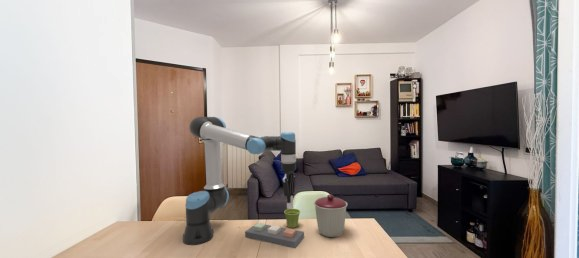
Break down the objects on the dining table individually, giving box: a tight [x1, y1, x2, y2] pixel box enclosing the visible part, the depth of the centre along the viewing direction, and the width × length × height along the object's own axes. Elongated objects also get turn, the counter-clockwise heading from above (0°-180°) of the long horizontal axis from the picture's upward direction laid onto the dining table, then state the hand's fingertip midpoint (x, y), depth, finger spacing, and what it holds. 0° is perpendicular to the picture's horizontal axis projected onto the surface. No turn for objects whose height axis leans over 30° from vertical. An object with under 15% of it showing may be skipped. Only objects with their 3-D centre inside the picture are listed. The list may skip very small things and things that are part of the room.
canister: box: [313, 194, 348, 238], centre depth 129 cm, size 18×18×21 cm
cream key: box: [268, 225, 282, 235], centre depth 125 cm, size 5×5×3 cm
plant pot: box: [283, 208, 301, 229], centre depth 139 cm, size 9×9×9 cm
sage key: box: [252, 222, 267, 232], centre depth 129 cm, size 5×5×3 cm
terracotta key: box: [283, 227, 297, 238], centre depth 121 cm, size 5×5×3 cm
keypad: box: [244, 223, 305, 249], centre depth 125 cm, size 29×12×3 cm, turn 65°
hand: (289, 208), depth 121 cm, fingers closed
